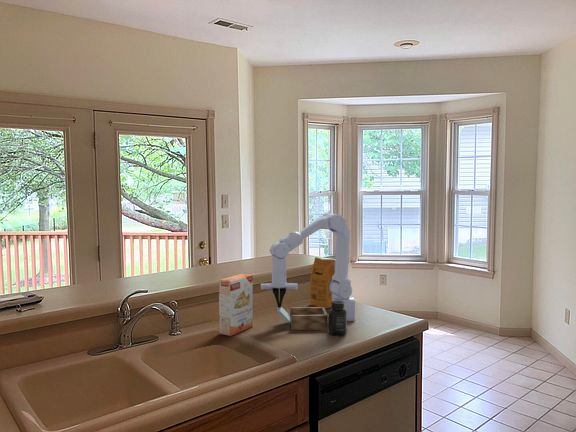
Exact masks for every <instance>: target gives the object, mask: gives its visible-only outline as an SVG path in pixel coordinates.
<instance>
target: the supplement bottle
mask: <svg viewBox="0 0 576 432" xmlns="http://www.w3.org/2000/svg"><path fill="white" fill-rule="evenodd" d="M327 315H328V329H327V330H328V331H327V332H328V334H329V336H332V337H344V336H346V335H347V333H348V332H347V329H348V327H347V325H348V324H347V323H348V321H347V311H346V310H345V309H344V302H342V301H332V302H331V307H330V308H329V310H328V313H327Z"/></svg>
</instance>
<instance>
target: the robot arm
mask: <svg viewBox="0 0 576 432" xmlns="http://www.w3.org/2000/svg"><path fill="white" fill-rule="evenodd" d="M346 222H347V221H346V219H345V218H344V216H342V215H341V214H338V213H337V214H336V213H330V212H327V213H326V212H325V213H324V214H323V215H320V216H318V217H317V218H316V219H315V220H313V221H312V222H310V223H309V224H308V225H306V226H305V227H304V228H303V229H301V230H300V231H290V232H289V233H288V235H287V236H285V237H284V238H280V239H279V240H278V241H279V242H278V241H277V242H273V244H272V245H271V246H270V249H269V252H270V254H271V282H268V283H267V282H266V283H260V290H272V293H273V295H274V298H275V301H276V305H277V306H278V308H281V307H282V304H283V299H284V297H285V295H286V292H287V290H292V289H293V290H294V289H295V290H298V289H299V287H298V285H299V284H298V283H297V282H295V283H294V282H287V257H288V255H289V253H290V252H292V251H293V250H295V249H296V248H298V247H300V246H301V245H302V244H303V242H304V239H306V238H308V237H309V236H311V235H312V234H315V233H316V232H317V231H319V230H330V231H331V232H332V233H333V234H334V235H335V237H336V241H335V242H336V243H335V257H334V260H335V262H334V265H335V274H334V275H333V276H332V281H331V283H330V286H329V289H330V291H331V292H332V301H342V302H344V309H345V310H346V311H347V322H353V321H354V322H355V321H356V301H355V297H353V296H352V294H353V288H352V285H351V283H352V282H351V279H350V276H348V275H349V274H348V273H349V257H350V256H349V255H350V254H349V253H350V237H351V232H350V229H349V227H348V225H347V223H346ZM277 306H276V307H277Z"/></svg>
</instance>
